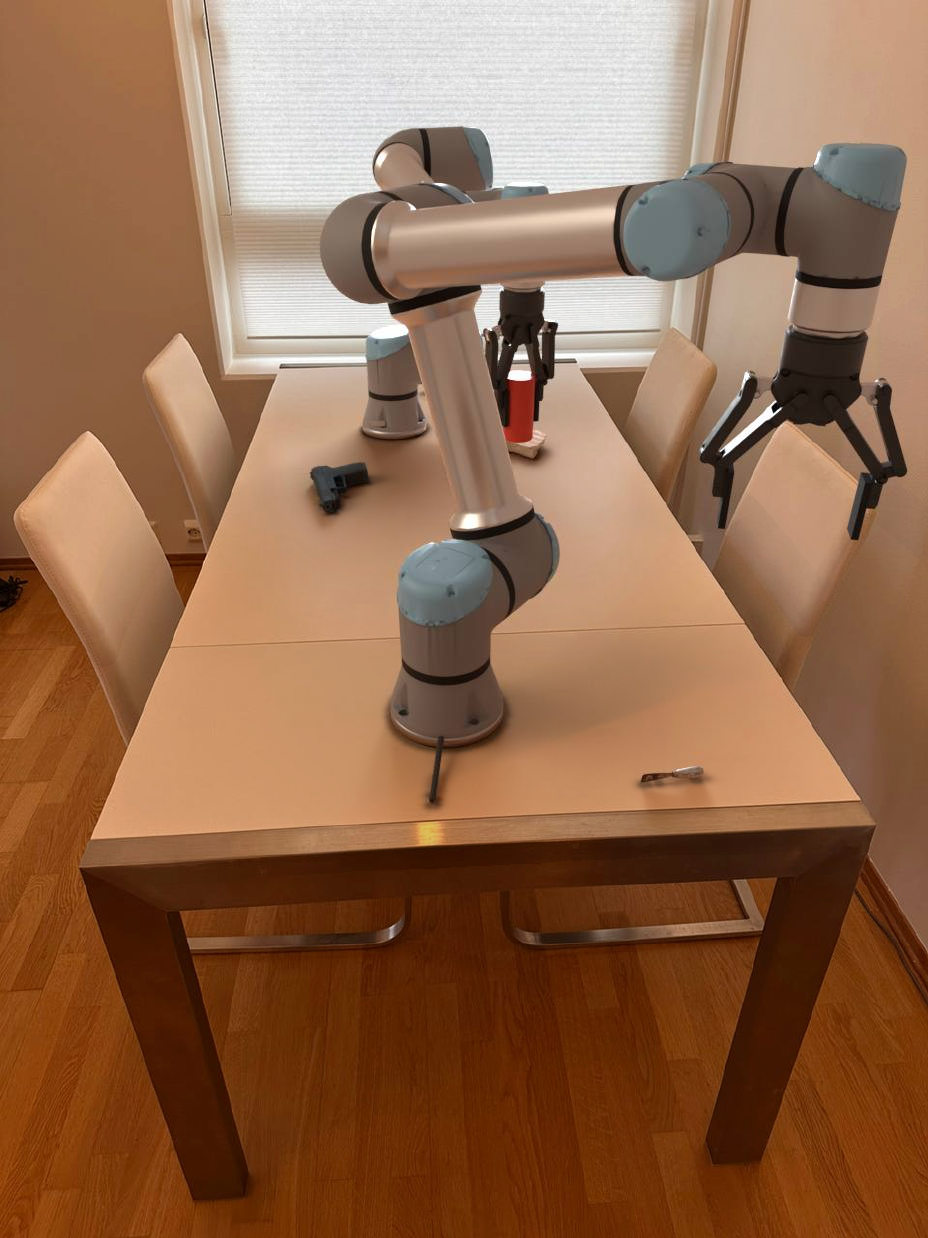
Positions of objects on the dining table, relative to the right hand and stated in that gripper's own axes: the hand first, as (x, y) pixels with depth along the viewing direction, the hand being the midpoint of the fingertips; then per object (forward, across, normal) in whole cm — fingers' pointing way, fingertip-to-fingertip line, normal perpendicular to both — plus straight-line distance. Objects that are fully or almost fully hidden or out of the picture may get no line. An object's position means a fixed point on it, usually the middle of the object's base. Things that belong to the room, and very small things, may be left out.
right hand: (785, 529), depth 96 cm
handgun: (+32, +75, -68) cm, 106 cm away
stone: (+32, +44, -100) cm, 113 cm away
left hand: (+12, +38, -61) cm, 73 cm away
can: (+15, +38, -61) cm, 74 cm away
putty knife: (+32, +8, +6) cm, 34 cm away
